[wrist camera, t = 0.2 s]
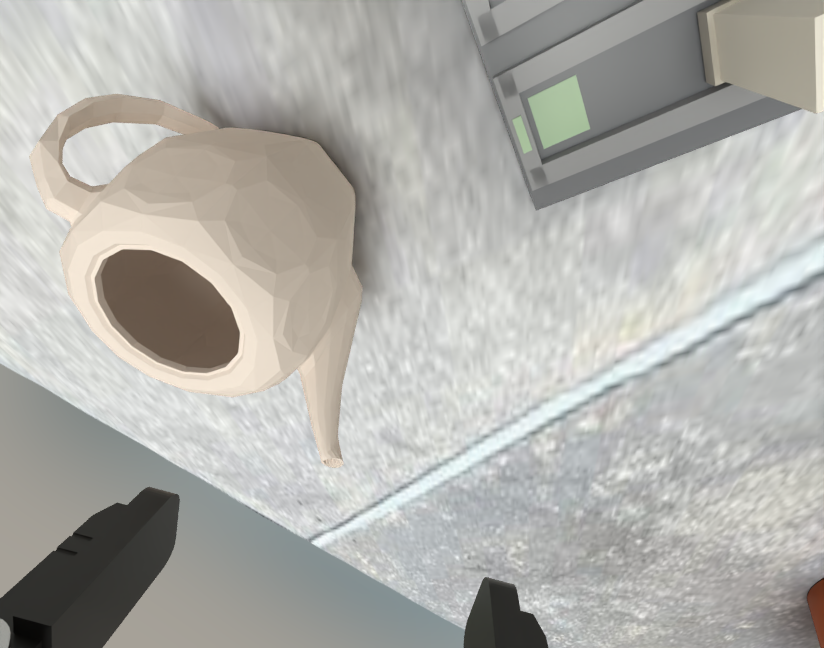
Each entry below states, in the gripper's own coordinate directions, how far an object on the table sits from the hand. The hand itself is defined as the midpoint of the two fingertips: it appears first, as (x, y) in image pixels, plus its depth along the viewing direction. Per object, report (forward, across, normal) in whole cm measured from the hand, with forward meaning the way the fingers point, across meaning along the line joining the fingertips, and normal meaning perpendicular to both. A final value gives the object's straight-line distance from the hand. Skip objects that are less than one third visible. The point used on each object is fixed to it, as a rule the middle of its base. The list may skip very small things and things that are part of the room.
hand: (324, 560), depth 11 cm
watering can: (+32, +12, -5) cm, 34 cm away
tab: (+22, -14, -22) cm, 34 cm away
